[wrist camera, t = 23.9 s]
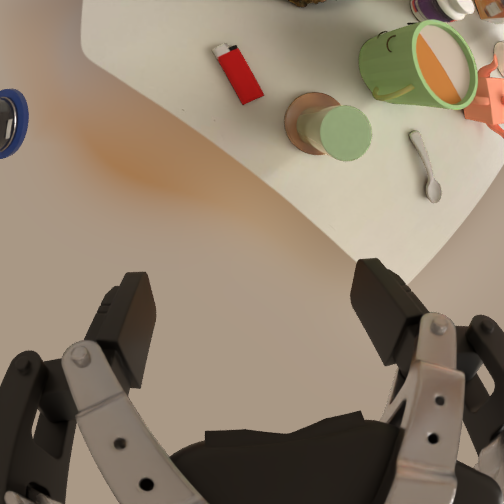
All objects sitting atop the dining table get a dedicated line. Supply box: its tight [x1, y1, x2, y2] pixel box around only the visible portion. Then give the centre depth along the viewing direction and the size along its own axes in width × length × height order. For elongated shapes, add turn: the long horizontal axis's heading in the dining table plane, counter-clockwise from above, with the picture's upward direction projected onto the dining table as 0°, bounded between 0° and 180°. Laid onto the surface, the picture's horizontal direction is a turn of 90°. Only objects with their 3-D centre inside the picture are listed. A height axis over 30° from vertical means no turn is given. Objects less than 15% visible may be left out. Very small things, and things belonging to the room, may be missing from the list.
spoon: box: [409, 131, 442, 203], centre depth 34 cm, size 3×12×2 cm, turn 32°
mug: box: [359, 20, 478, 110], centre depth 23 cm, size 13×10×12 cm
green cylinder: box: [296, 105, 372, 161], centre depth 27 cm, size 5×5×9 cm
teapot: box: [464, 54, 504, 138], centre depth 25 cm, size 12×15×8 cm
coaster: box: [284, 92, 340, 155], centre depth 31 cm, size 8×8×1 cm
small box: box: [474, 0, 504, 24], centre depth 14 cm, size 8×6×10 cm
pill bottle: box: [410, 0, 474, 23], centre depth 18 cm, size 5×5×10 cm
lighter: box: [212, 43, 264, 105], centre depth 27 cm, size 3×1×8 cm
